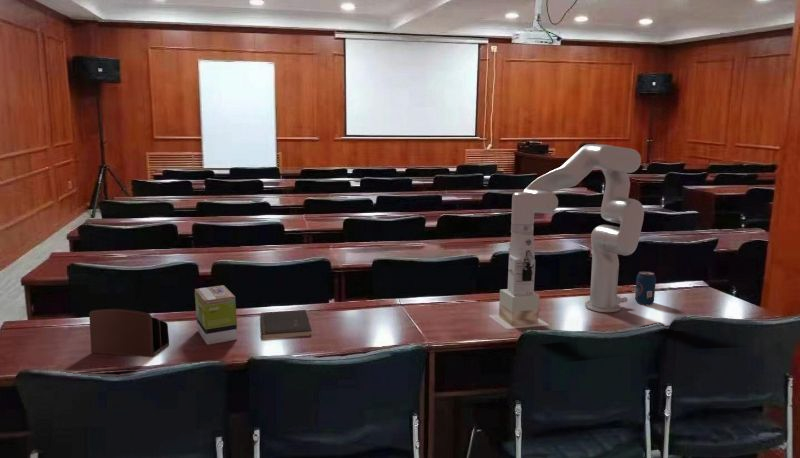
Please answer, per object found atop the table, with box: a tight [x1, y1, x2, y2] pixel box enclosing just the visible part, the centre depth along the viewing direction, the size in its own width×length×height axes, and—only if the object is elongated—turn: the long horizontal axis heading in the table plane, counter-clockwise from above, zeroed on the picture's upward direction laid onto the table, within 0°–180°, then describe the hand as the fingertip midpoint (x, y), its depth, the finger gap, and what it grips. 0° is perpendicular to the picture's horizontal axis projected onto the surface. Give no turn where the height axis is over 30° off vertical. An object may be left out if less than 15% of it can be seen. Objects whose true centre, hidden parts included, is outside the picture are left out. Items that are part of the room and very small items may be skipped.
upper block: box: [499, 288, 540, 312], centre depth 214 cm, size 10×10×5 cm
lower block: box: [498, 303, 540, 326], centre depth 214 cm, size 10×10×5 cm
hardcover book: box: [259, 309, 313, 340], centre depth 210 cm, size 16×23×2 cm
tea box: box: [194, 284, 238, 345], centre depth 199 cm, size 15×10×15 cm
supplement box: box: [507, 254, 536, 295], centre depth 212 cm, size 7×7×13 cm
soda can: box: [634, 270, 657, 305], centre depth 239 cm, size 7×7×12 cm
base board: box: [488, 314, 550, 330], centre depth 215 cm, size 16×15×1 cm
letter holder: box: [88, 308, 170, 358], centre depth 186 cm, size 10×20×14 cm, turn 82°
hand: (520, 277), depth 212 cm, fingers open, 9 cm apart
